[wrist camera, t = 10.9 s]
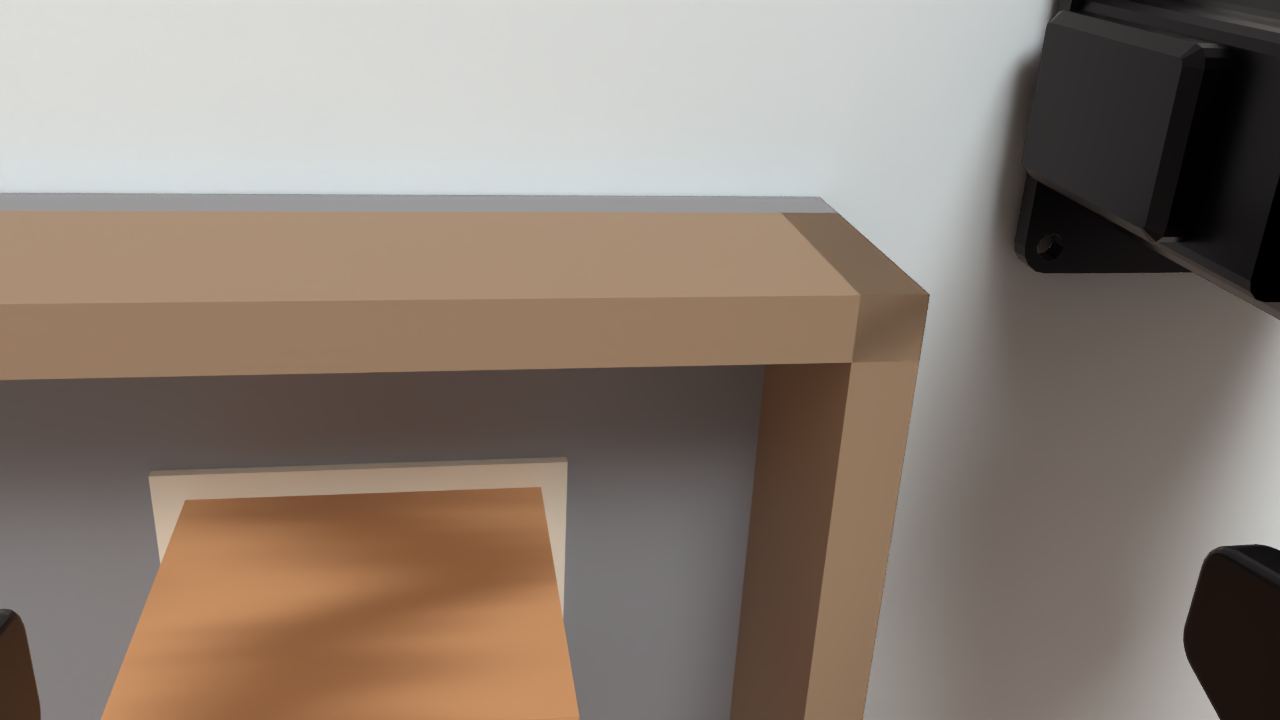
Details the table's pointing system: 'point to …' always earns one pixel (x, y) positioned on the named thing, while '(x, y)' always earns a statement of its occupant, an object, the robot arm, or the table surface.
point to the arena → (473, 414)
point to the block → (353, 612)
